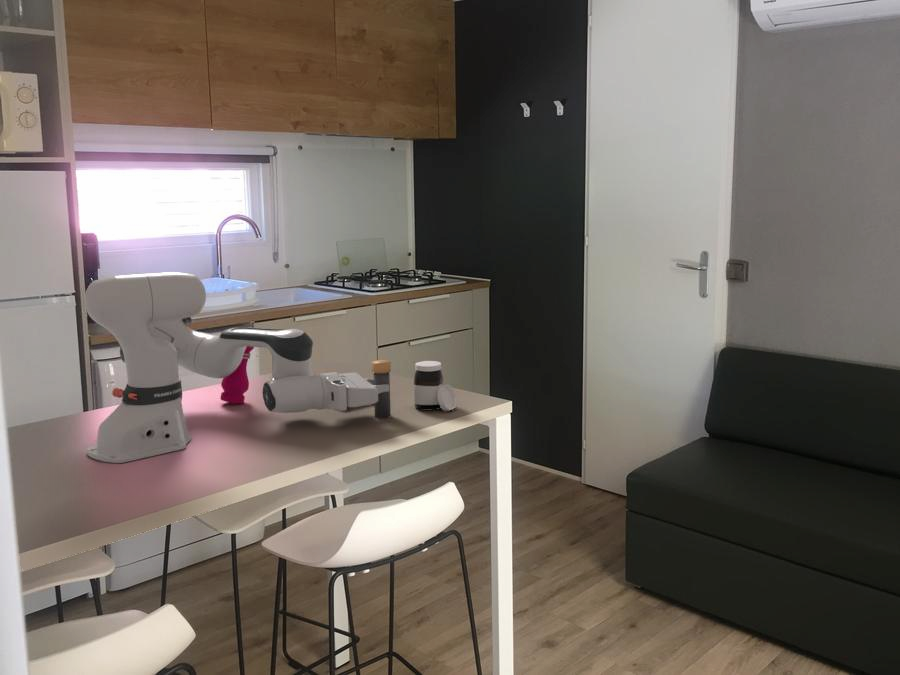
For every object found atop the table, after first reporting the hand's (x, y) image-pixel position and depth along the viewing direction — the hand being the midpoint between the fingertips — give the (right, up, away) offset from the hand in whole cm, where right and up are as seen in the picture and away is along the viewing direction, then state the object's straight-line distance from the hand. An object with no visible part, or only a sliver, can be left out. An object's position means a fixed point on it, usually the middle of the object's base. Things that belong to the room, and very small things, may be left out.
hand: (385, 384), depth 213 cm
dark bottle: (-1, -8, +1) cm, 8 cm away
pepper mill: (-43, -5, +15) cm, 46 cm away
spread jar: (+13, -7, +9) cm, 17 cm away
